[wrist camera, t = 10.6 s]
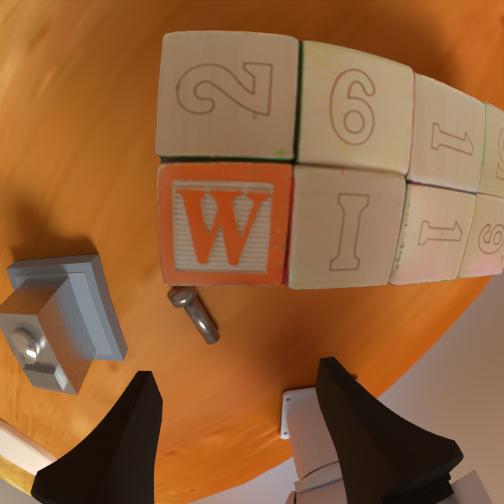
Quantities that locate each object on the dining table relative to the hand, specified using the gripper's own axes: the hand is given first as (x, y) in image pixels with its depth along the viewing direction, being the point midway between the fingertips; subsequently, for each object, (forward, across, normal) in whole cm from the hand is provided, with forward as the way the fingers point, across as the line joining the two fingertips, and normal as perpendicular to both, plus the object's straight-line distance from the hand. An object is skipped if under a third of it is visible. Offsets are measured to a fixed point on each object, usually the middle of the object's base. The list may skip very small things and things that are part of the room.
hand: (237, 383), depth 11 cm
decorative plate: (+11, +49, +38) cm, 63 cm away
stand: (+10, +14, +2) cm, 17 cm away
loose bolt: (+10, +2, +3) cm, 11 cm away
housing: (+8, +14, +2) cm, 16 cm away
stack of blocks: (+10, -9, -8) cm, 16 cm away
